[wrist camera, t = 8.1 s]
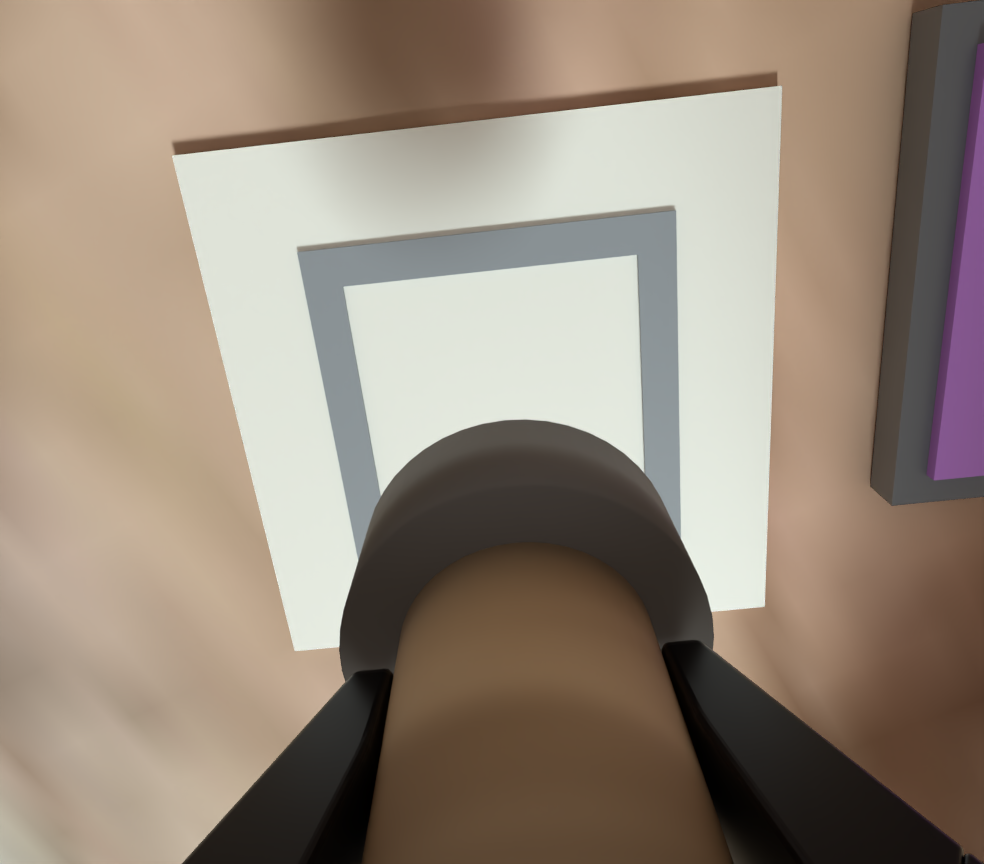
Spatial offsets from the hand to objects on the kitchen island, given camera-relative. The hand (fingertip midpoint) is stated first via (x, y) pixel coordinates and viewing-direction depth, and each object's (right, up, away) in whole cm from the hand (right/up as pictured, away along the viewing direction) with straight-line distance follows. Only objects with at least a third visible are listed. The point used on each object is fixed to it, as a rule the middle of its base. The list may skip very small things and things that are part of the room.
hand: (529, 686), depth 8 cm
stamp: (0, +1, +2) cm, 3 cm away
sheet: (0, +3, +9) cm, 9 cm away
